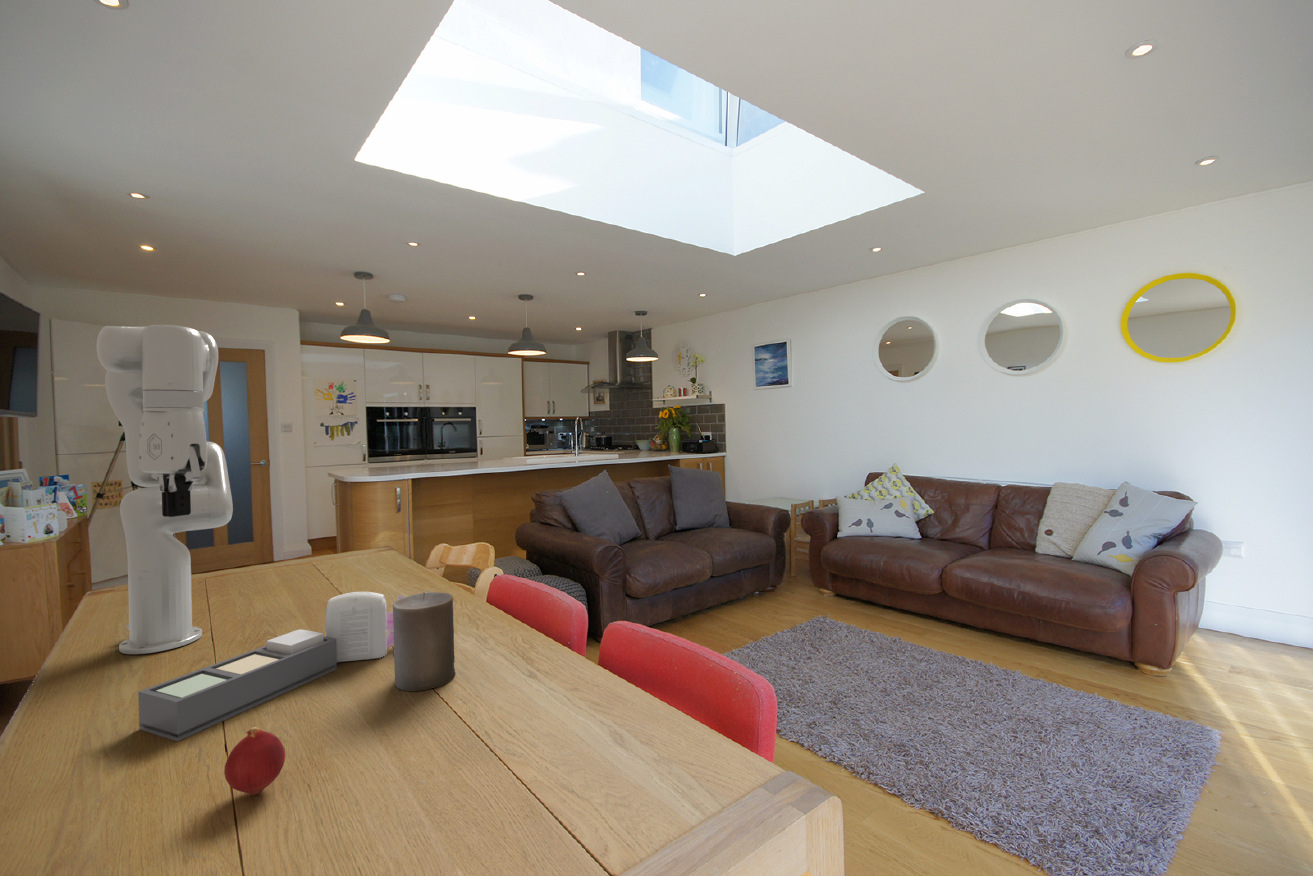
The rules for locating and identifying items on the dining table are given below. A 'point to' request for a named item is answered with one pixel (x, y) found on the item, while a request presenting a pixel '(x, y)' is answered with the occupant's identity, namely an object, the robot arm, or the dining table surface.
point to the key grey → (295, 641)
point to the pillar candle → (423, 641)
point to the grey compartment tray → (231, 690)
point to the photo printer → (358, 625)
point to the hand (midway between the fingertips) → (176, 515)
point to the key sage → (190, 685)
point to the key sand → (247, 664)
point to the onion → (255, 762)
